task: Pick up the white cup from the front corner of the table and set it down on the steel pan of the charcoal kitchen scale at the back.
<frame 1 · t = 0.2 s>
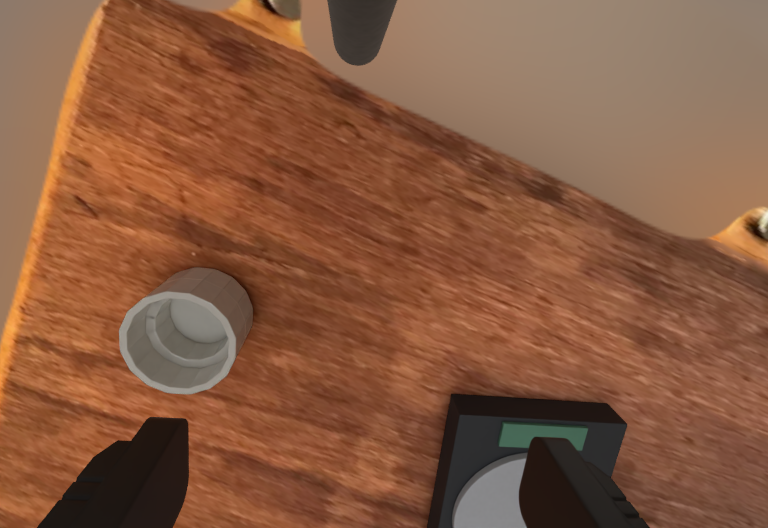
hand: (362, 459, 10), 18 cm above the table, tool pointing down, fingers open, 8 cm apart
scale: (512, 477, 34), on the table
white cup: (207, 309, 28), on the table
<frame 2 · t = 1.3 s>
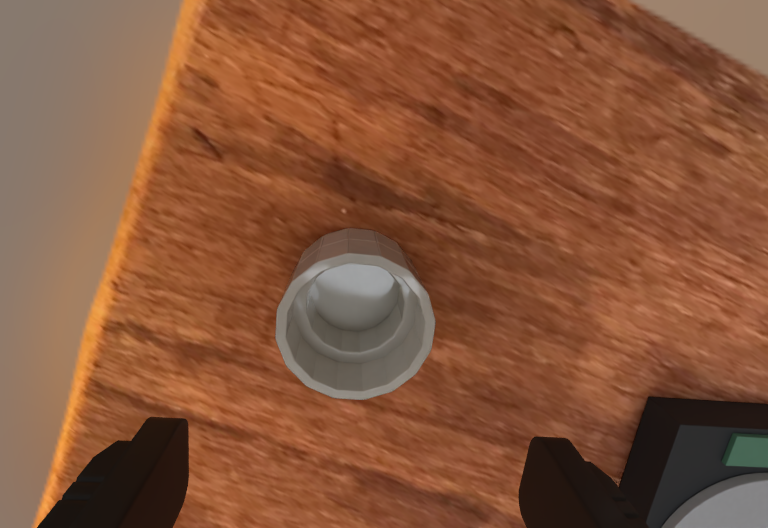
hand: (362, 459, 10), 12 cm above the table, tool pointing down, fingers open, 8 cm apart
scale: (706, 500, 27), on the table
white cup: (354, 286, 21), on the table
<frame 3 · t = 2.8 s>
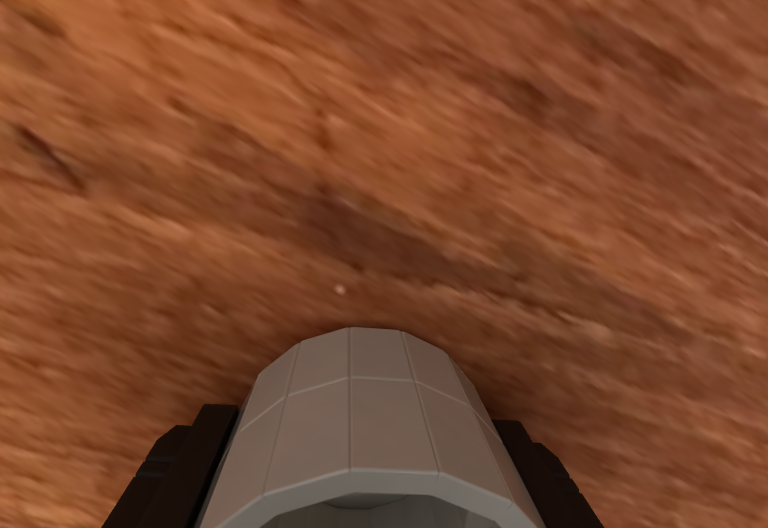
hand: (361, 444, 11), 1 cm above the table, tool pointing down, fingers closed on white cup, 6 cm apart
white cup: (361, 425, 11), on the table, touching gripper
when the fingers open (4 cm above the table, at t = 10.1 s): white cup stays where it is, resting on scale.
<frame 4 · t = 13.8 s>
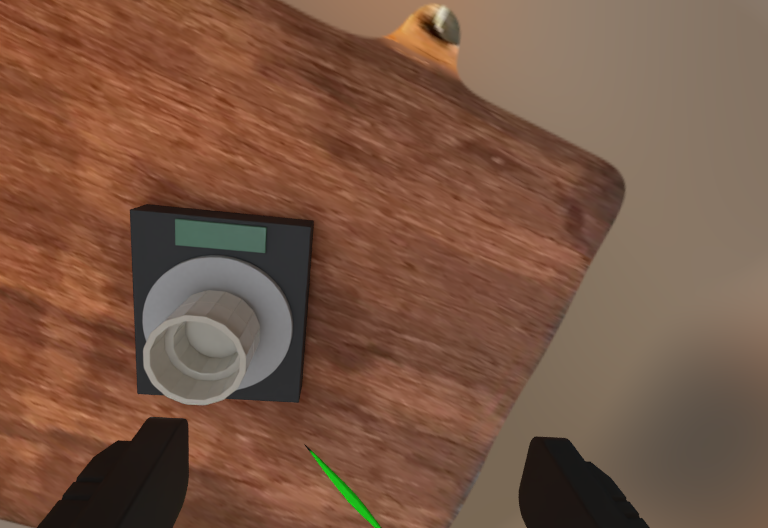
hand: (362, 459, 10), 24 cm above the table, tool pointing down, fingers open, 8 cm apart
leaf: (349, 490, 40), on the table
scale: (229, 301, 34), on the table
white cup: (218, 327, 31), point 3 cm above the table, touching scale
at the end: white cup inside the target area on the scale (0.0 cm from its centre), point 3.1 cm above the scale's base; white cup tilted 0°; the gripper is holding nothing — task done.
